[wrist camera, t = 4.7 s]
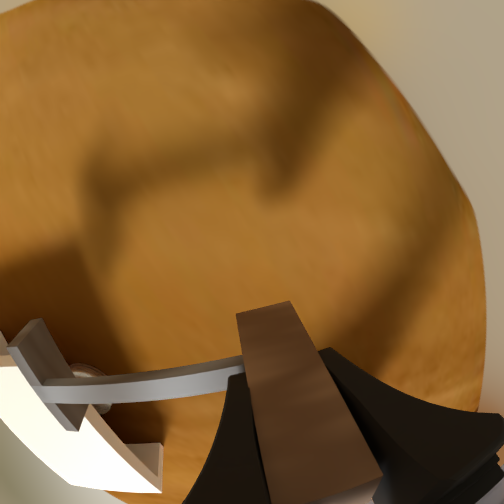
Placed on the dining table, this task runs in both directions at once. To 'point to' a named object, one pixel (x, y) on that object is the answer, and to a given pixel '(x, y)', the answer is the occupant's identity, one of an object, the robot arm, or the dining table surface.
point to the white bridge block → (76, 440)
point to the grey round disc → (89, 371)
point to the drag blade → (262, 400)
